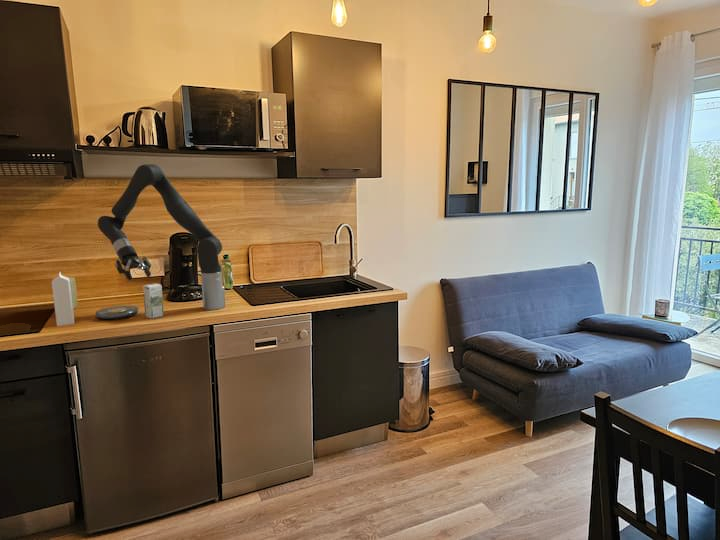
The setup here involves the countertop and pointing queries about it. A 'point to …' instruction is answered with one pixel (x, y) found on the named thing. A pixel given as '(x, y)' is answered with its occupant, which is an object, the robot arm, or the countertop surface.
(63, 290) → the milk
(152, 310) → the syrup box
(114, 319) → the turntable base
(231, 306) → the countertop surface
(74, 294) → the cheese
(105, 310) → the disc
